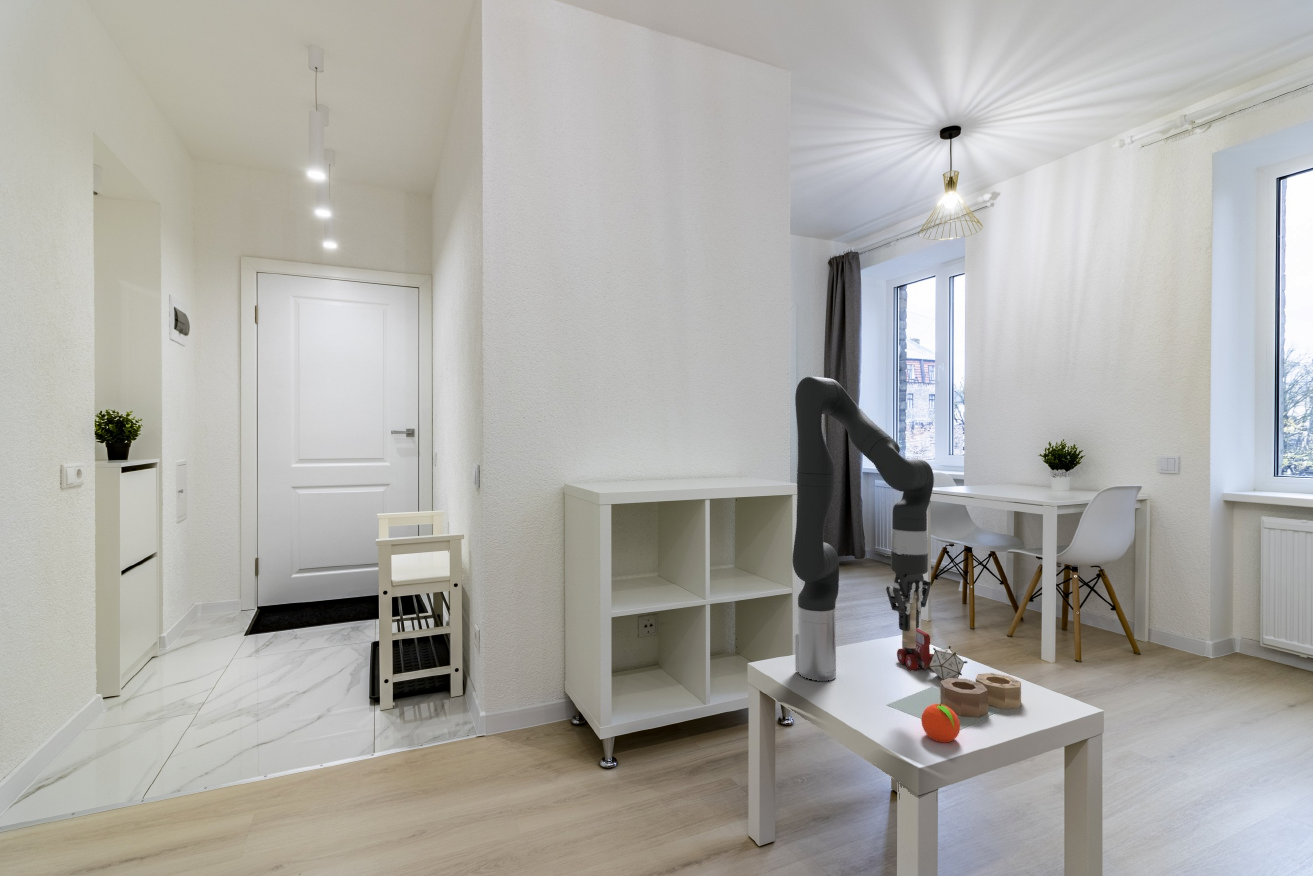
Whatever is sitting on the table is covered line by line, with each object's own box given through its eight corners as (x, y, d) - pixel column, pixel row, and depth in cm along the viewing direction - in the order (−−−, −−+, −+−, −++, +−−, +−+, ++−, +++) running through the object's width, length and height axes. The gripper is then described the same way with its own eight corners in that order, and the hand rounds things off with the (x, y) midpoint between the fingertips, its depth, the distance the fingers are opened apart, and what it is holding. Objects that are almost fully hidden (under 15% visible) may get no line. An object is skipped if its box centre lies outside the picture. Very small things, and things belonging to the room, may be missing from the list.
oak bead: (974, 704, 138) (973, 682, 138) (979, 692, 145) (979, 670, 145) (1018, 714, 133) (1018, 690, 133) (1022, 700, 140) (1021, 678, 140)
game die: (955, 698, 151) (974, 674, 145) (920, 683, 153) (938, 658, 147) (953, 669, 158) (972, 645, 153) (920, 655, 160) (937, 631, 154)
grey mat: (886, 707, 137) (886, 704, 137) (932, 689, 147) (932, 686, 147) (956, 735, 124) (956, 732, 124) (1001, 712, 134) (1001, 709, 134)
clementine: (971, 750, 117) (971, 713, 117) (937, 753, 116) (937, 715, 117) (946, 731, 125) (946, 696, 125) (914, 733, 124) (914, 698, 125)
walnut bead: (934, 706, 136) (933, 683, 136) (955, 697, 141) (955, 675, 141) (972, 720, 129) (972, 696, 129) (993, 710, 134) (993, 687, 134)
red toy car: (917, 658, 169) (917, 620, 169) (941, 675, 157) (941, 633, 157) (893, 659, 168) (892, 620, 169) (915, 675, 156) (914, 634, 156)
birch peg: (899, 645, 136) (899, 591, 136) (907, 643, 138) (907, 589, 138) (911, 649, 134) (911, 593, 134) (918, 646, 135) (918, 591, 135)
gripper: (912, 544, 143) (912, 619, 143) (874, 550, 135) (874, 630, 135) (943, 549, 137) (943, 628, 136) (905, 556, 129) (905, 639, 129)
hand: (908, 628), depth 136 cm, fingers closed on birch peg, 2 cm apart
